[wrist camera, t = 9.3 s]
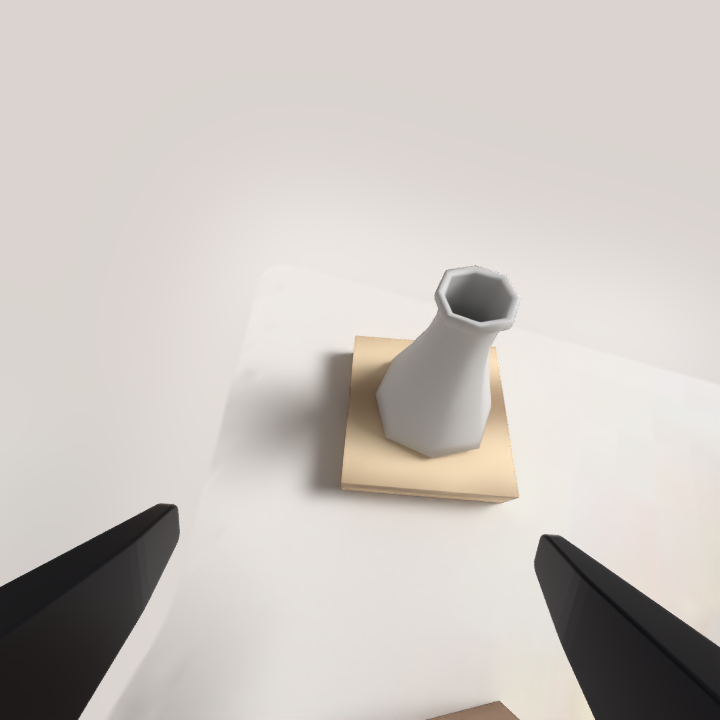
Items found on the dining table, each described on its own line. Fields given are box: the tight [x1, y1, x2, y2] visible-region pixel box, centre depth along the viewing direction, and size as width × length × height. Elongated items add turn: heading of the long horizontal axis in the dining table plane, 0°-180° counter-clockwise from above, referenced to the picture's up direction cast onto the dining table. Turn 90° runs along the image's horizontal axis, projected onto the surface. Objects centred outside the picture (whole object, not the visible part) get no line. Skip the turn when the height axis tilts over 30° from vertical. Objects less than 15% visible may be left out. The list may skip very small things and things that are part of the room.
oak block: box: [341, 336, 519, 503], centre depth 23 cm, size 10×10×3 cm
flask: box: [375, 266, 521, 458], centre depth 17 cm, size 7×7×10 cm
